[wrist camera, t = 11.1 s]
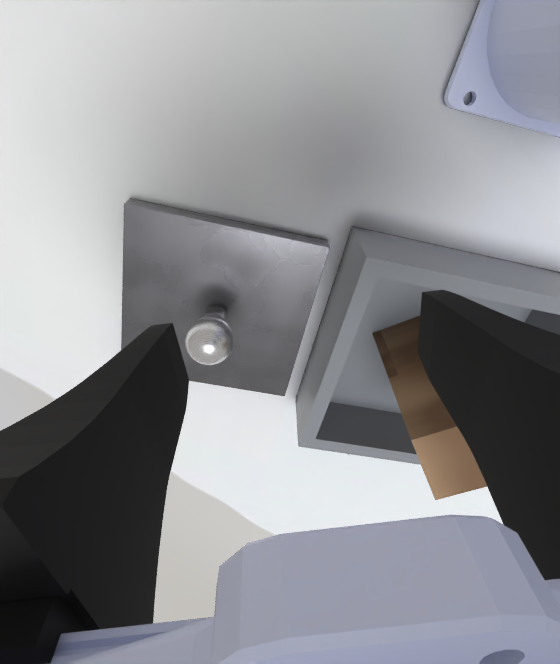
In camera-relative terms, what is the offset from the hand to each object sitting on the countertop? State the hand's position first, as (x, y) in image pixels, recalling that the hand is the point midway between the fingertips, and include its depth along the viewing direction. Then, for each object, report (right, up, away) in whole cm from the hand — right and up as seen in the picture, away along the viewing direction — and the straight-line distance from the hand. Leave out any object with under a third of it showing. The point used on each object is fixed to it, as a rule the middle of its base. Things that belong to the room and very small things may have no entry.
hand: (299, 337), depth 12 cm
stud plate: (-4, +2, +11) cm, 12 cm away
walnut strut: (+8, -1, +12) cm, 14 cm away
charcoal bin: (+8, 0, +13) cm, 15 cm away
